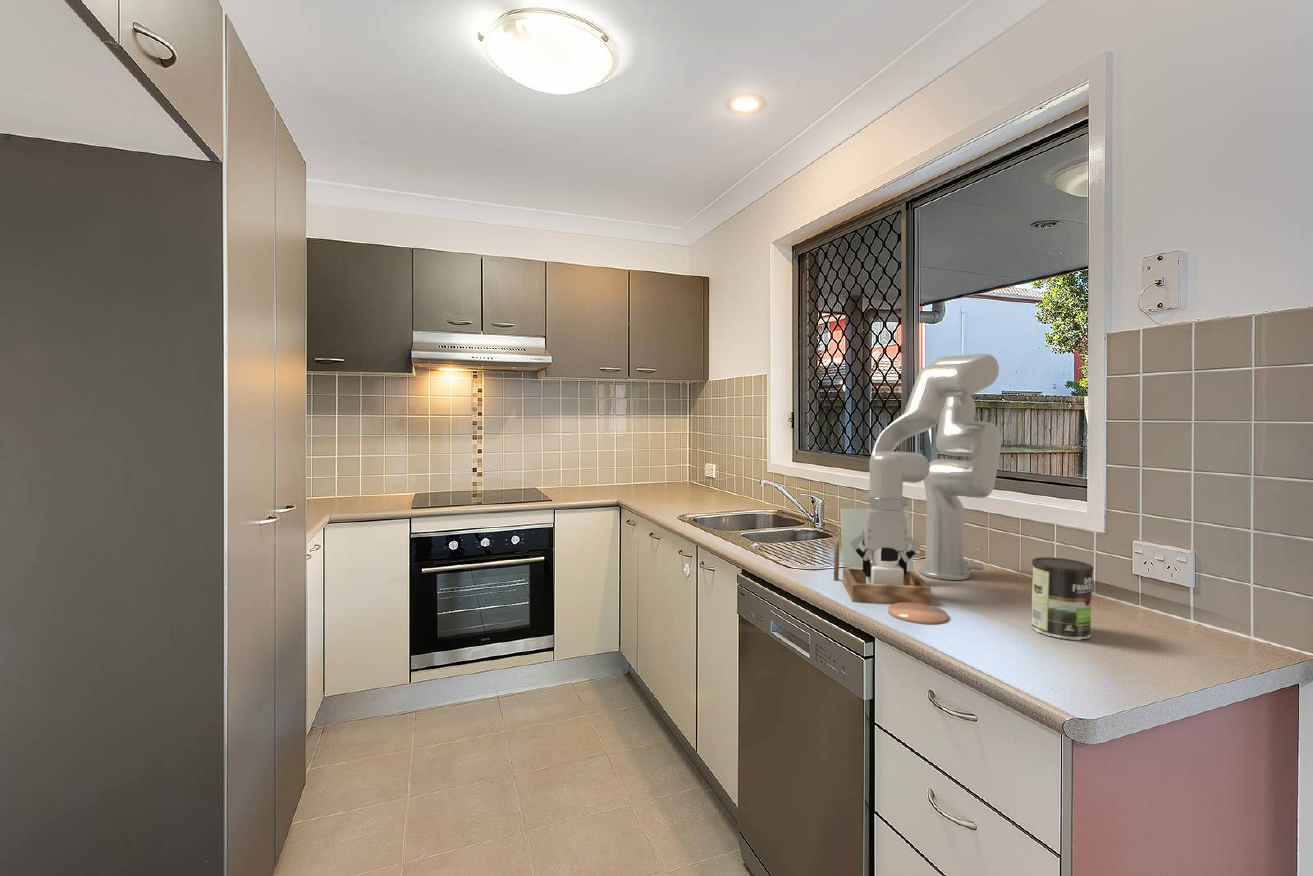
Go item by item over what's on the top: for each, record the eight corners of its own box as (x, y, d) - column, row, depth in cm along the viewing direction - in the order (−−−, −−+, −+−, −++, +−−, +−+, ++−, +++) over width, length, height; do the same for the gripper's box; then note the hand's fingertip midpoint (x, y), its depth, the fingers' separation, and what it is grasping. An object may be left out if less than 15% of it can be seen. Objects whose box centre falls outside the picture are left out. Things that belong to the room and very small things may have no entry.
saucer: (938, 607, 139) (938, 603, 139) (955, 625, 127) (955, 621, 127) (883, 604, 141) (883, 601, 141) (895, 622, 129) (895, 618, 129)
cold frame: (913, 586, 155) (913, 570, 155) (930, 605, 140) (930, 588, 140) (842, 583, 158) (843, 567, 158) (852, 601, 143) (852, 584, 143)
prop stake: (838, 579, 162) (838, 538, 161) (838, 580, 160) (839, 539, 160) (833, 579, 162) (834, 538, 161) (834, 580, 161) (834, 539, 160)
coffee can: (1101, 635, 121) (1104, 565, 121) (1072, 644, 117) (1074, 571, 116) (1048, 619, 131) (1050, 554, 130) (1019, 627, 126) (1021, 560, 125)
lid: (913, 569, 155) (911, 570, 157) (909, 510, 160) (907, 511, 161) (843, 566, 158) (842, 567, 160) (841, 508, 162) (840, 509, 164)
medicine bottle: (894, 589, 152) (895, 542, 152) (903, 598, 145) (904, 548, 145) (865, 589, 153) (866, 541, 152) (872, 597, 146) (873, 548, 145)
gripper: (919, 503, 150) (917, 573, 151) (846, 501, 153) (845, 570, 154) (927, 507, 143) (926, 582, 144) (851, 506, 146) (849, 578, 147)
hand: (884, 575), depth 149 cm, fingers closed on medicine bottle, 7 cm apart
